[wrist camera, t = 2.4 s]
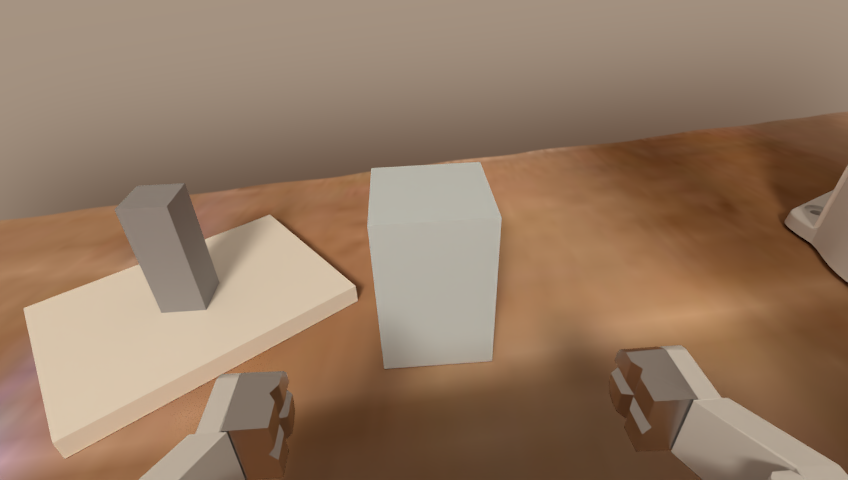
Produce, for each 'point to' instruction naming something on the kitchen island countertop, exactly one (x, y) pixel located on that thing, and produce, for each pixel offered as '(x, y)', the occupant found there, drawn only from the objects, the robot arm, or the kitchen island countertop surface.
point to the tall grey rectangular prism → (434, 263)
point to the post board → (172, 315)
